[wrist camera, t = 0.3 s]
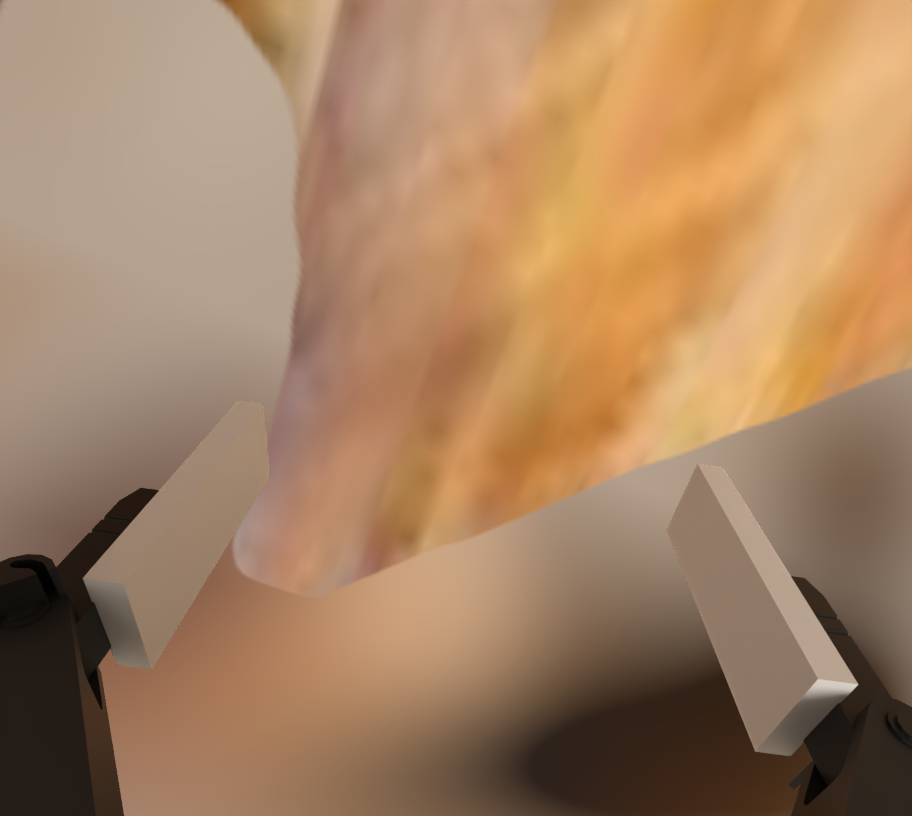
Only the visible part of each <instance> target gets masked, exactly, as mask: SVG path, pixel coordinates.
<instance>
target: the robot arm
mask: <svg viewBox="0 0 912 816" xmlns="http://www.w3.org/2000/svg"><path fill="white" fill-rule="evenodd" d="M269 476H270V469H269V458H268V447H267V436H266V425H265V414H264V404H263V403H257V402H249V401H243V400H238V401H237V402H236V403H235V404H234V405H233V406H232V407H231V409H230V410H229V411H228V412H227V413H226V414H225V415H224V417H223V418H222V419H221V420H220V421H219V422H218V424H217V425H216V426H215V427H214V428H213V429H212V431H211V432H210V433H209V434H208V435H207V436H206V437H205V438H204V440H203V441H202V442H201V443H200V444H199V445H198V447H197V448H196V449H195V450H194V451H193V452H192V453H191V454H190V456H189V457H188V458H187V459H186V460H185V461H184V463H183V464H182V465H181V466H180V467H179V468H178V469H177V471H176V472H175V473H174V474H173V475H172V477H171V478H170V479H169V480H168V481H167V482H166V483H165V484H164V486H163V487H162V488H161V489H160V490H153V489H145V488H140V489H138V490H137V491H135V492H133V493H131V494H130V495H128V496H126V497H125V498H123V499H121V500H120V501H119V502H118V503H117V504H116V505H115V506H114V507H113V508H112V509H111V510H110V511H109V512H108V513H107V514H106V515H105V518H104V520H101V521H100V522H99V523H98V524H97V525H96V526H95V527H94V528H93V529H92V532H91V533H88V534H87V535H86V536H85V538H84V539H83V540H82V541H81V542H80V543H79V544H78V545H77V546H76V547H75V548H74V549H73V550H72V551H71V552H70V553H69V555H68V556H67V557H66V558H65V559H64V560H63V561H62V562H61V563H60V564H59V565H58V566H57V567H56V566H55V565H54V563H53V561H52V559H50V558H47V557H45V556H43V555H30V554H26V555H21V556H16V557H11V558H9V559H6V560H4V561H1V562H0V816H124V813H123V806H122V800H121V794H120V788H119V782H118V775H117V769H116V763H115V757H114V750H113V744H112V739H111V732H110V726H109V719H108V713H107V707H106V701H105V695H104V688H103V682H102V676H101V672H100V669H99V667H98V665H99V664H100V662H101V661H102V659H103V658H104V657H105V655H106V654H107V652H108V651H109V650H110V649H111V651H112V654H113V657H114V659H115V662H116V664H118V665H125V666H132V667H139V668H148V669H152V668H153V667H154V665H155V663H156V662H157V660H158V658H159V657H160V655H161V654H162V652H163V650H164V649H165V647H166V645H167V644H168V642H169V640H170V639H171V637H172V635H173V634H174V632H175V630H176V629H177V627H178V626H179V624H180V622H181V620H182V619H183V617H184V616H185V614H186V612H187V611H188V609H189V607H190V606H191V604H192V602H193V601H194V599H195V597H196V596H197V594H198V593H199V591H200V589H201V587H202V586H203V584H204V582H205V581H206V579H207V578H208V576H209V575H210V573H211V571H212V570H213V568H214V566H215V565H216V563H217V561H218V560H219V558H220V557H221V555H222V553H223V552H224V550H225V548H226V547H227V545H228V543H229V542H230V540H231V538H232V537H233V535H234V534H235V532H236V530H237V529H238V527H239V525H240V524H241V522H242V520H243V519H244V517H245V515H246V514H247V512H248V511H249V509H250V507H251V506H252V504H253V502H254V501H255V499H256V497H257V496H258V494H259V492H260V491H261V489H262V488H263V486H264V484H265V483H266V481H267V479H268V478H269ZM667 532H668V535H669V537H670V540H671V542H672V545H673V547H674V550H675V552H676V555H677V557H678V560H679V562H680V565H681V567H682V570H683V572H684V575H685V577H686V580H687V582H688V584H689V587H690V590H691V592H692V595H693V597H694V599H695V602H696V605H697V607H698V610H699V612H700V615H701V617H702V619H703V622H704V624H705V627H706V630H707V632H708V635H709V637H710V640H711V642H712V644H713V647H714V650H715V652H716V655H717V657H718V660H719V662H720V665H721V667H722V670H723V672H724V675H725V677H726V680H727V682H728V685H729V687H730V690H731V692H732V694H733V697H734V699H735V702H736V704H737V707H738V709H739V712H740V714H741V717H742V719H743V722H744V724H745V727H746V729H747V732H748V734H749V737H750V739H751V742H752V744H753V747H754V749H755V751H756V752H764V753H771V754H779V755H786V756H791V755H792V754H793V753H794V752H795V751H796V750H797V749H798V748H799V746H800V745H801V744H802V743H803V742H805V744H806V746H807V748H808V750H809V753H810V755H811V757H812V759H813V760H812V761H811V762H810V763H809V764H808V765H807V766H806V767H805V768H804V769H803V770H802V771H801V772H800V773H799V774H798V775H797V776H796V777H795V778H794V779H793V780H792V781H791V783H790V784H789V786H790V787H792V788H793V789H795V788H796V787H797V786H799V784H801V785H800V788H799V791H798V795H797V798H796V801H795V804H794V808H793V811H792V814H791V816H912V707H910V706H908V705H907V704H905V703H903V702H901V701H899V700H896V699H893V698H891V696H890V695H889V693H888V692H887V690H886V689H885V687H884V686H883V684H882V683H881V681H880V680H879V678H878V677H877V675H876V674H875V672H874V671H873V669H872V668H871V666H870V665H869V663H868V662H867V660H866V659H865V657H864V656H863V654H862V653H861V651H860V650H859V648H858V647H857V645H856V644H855V642H854V641H853V639H852V638H851V636H848V634H847V633H848V632H847V630H846V629H845V627H844V626H843V624H842V623H841V621H840V620H837V615H836V614H835V612H834V611H833V609H832V608H831V606H830V605H829V603H828V602H827V600H826V599H825V597H824V596H823V595H822V594H821V593H820V592H819V591H818V590H817V589H816V588H815V587H813V586H812V585H811V584H810V583H809V582H808V581H807V580H806V579H805V578H800V577H793V576H790V574H789V573H788V571H787V569H786V568H785V566H784V565H783V563H782V561H781V560H780V558H779V557H778V555H777V553H776V552H775V550H774V549H773V547H772V546H771V544H770V542H769V541H768V539H767V537H766V536H765V534H764V533H763V531H762V529H761V528H760V526H759V525H758V523H757V521H756V520H755V518H754V517H753V515H752V513H751V512H750V511H749V509H748V507H747V505H746V504H745V502H744V501H743V499H742V497H741V496H740V494H739V493H738V491H737V489H736V488H735V486H734V485H733V483H732V481H731V480H730V478H729V477H728V475H727V474H726V472H725V470H724V469H723V467H718V466H710V465H703V464H697V466H696V468H695V470H694V472H693V474H692V476H691V479H690V481H689V483H688V485H687V487H686V489H685V491H684V494H683V496H682V498H681V500H680V502H679V505H678V506H677V509H676V511H675V513H674V515H673V517H672V519H671V521H670V523H669V526H668V528H667Z"/></svg>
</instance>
